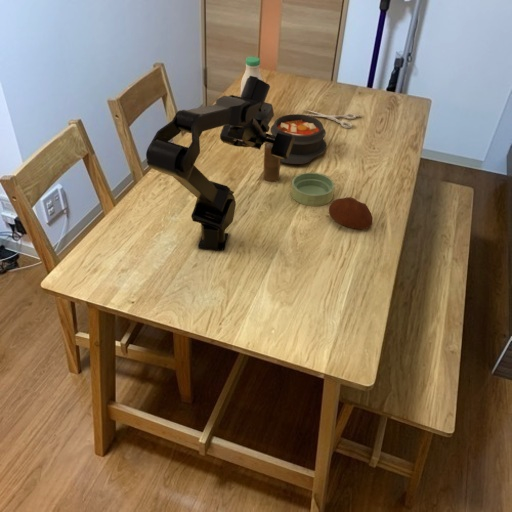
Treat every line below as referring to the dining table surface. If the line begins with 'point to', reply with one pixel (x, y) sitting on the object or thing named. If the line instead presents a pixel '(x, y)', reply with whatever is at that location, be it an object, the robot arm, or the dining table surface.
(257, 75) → the milk bottle
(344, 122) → the scissors
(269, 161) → the pepper mill
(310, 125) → the casserole
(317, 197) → the green round dish
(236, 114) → the robot arm
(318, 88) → the dining table surface
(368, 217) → the potato
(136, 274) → the dining table surface
